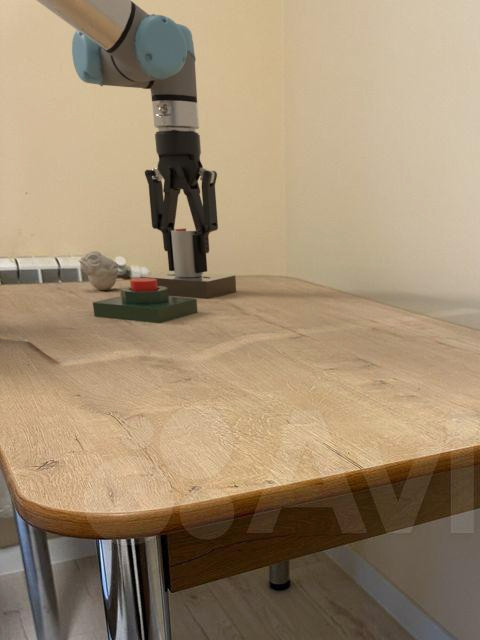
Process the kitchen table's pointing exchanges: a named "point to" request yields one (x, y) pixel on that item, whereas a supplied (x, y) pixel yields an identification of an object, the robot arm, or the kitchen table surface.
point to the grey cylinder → (183, 253)
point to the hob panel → (196, 284)
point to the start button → (144, 284)
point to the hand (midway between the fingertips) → (188, 270)
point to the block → (145, 306)
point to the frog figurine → (99, 270)
